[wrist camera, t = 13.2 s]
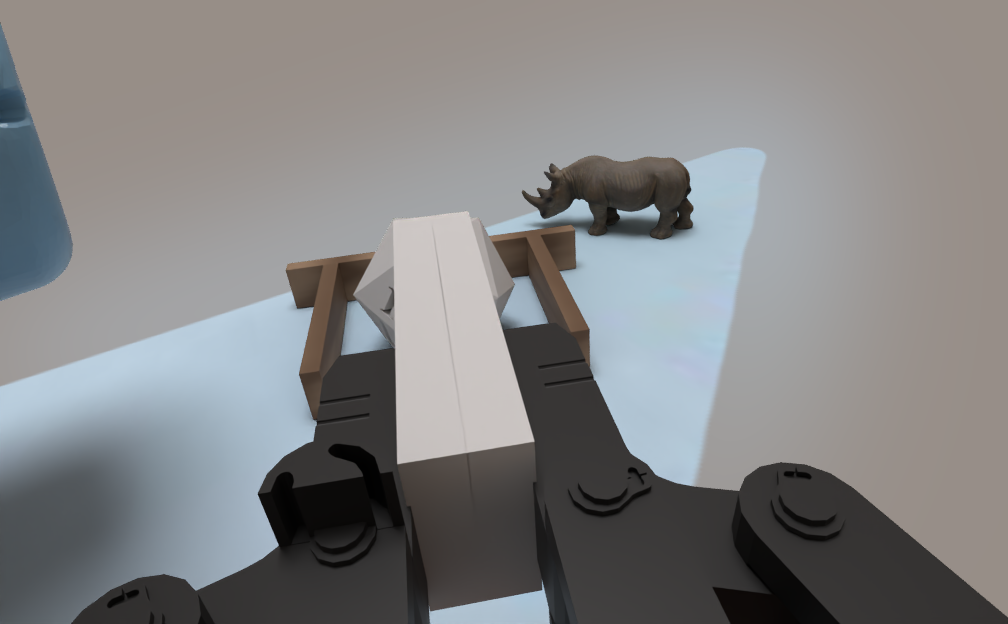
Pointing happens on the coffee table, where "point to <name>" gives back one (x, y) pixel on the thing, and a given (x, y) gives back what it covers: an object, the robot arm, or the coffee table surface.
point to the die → (379, 280)
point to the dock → (340, 276)
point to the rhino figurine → (620, 191)
